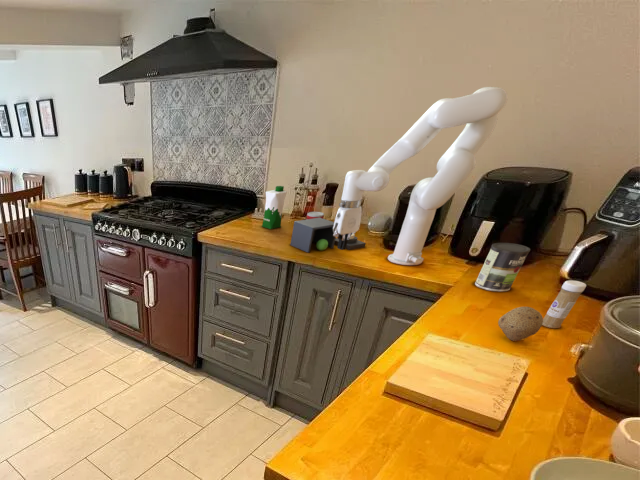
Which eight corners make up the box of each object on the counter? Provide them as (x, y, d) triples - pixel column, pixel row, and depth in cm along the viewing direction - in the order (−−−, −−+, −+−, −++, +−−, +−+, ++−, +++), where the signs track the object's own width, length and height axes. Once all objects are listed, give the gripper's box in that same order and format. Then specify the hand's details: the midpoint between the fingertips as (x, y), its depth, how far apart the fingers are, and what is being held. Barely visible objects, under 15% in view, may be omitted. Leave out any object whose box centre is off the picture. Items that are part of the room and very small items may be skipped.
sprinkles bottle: (536, 322, 125) (560, 280, 117) (550, 321, 125) (575, 279, 117) (550, 329, 121) (576, 286, 113) (564, 328, 121) (591, 285, 114)
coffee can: (517, 289, 145) (538, 249, 136) (494, 293, 143) (514, 253, 135) (489, 279, 153) (507, 240, 145) (467, 283, 151) (484, 244, 143)
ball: (331, 242, 184) (325, 235, 187) (321, 245, 184) (315, 238, 187) (328, 251, 189) (322, 244, 191) (318, 254, 188) (312, 247, 191)
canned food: (316, 233, 210) (321, 211, 203) (321, 238, 203) (326, 215, 197) (301, 234, 211) (305, 211, 204) (305, 238, 204) (309, 215, 198)
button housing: (364, 247, 189) (366, 239, 187) (348, 249, 187) (350, 242, 185) (345, 240, 199) (347, 233, 197) (330, 243, 197) (332, 235, 195)
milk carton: (283, 227, 223) (289, 187, 212) (270, 230, 220) (276, 189, 208) (271, 223, 230) (277, 184, 218) (259, 226, 226) (264, 187, 215)
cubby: (333, 248, 191) (339, 223, 184) (307, 252, 187) (312, 227, 181) (314, 240, 201) (319, 217, 194) (290, 245, 198) (294, 221, 191)
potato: (484, 336, 120) (500, 304, 114) (503, 329, 123) (520, 298, 117) (519, 350, 113) (538, 317, 108) (538, 342, 116) (558, 310, 110)
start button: (355, 238, 190) (356, 234, 189) (348, 240, 189) (349, 236, 188) (349, 236, 193) (350, 232, 192) (342, 237, 192) (343, 234, 191)
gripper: (341, 208, 164) (333, 254, 174) (372, 202, 167) (362, 248, 177) (328, 205, 170) (320, 249, 180) (358, 199, 173) (349, 243, 183)
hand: (341, 248), depth 178 cm, fingers closed
